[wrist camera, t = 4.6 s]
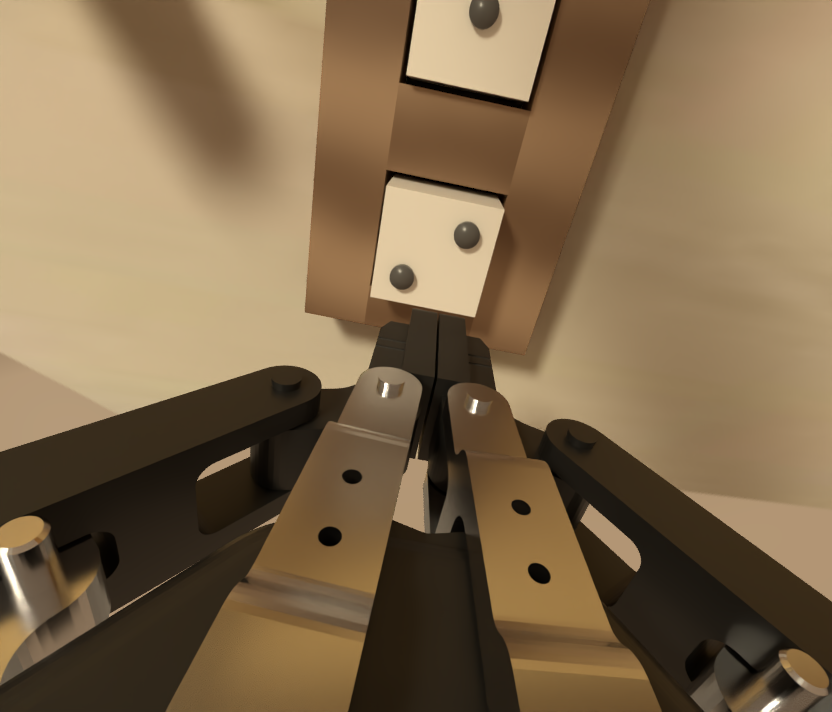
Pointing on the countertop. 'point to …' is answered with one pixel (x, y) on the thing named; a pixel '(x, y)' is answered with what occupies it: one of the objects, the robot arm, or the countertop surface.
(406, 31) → the button panel
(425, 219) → the button two
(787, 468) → the countertop surface
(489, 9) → the button one
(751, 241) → the countertop surface
